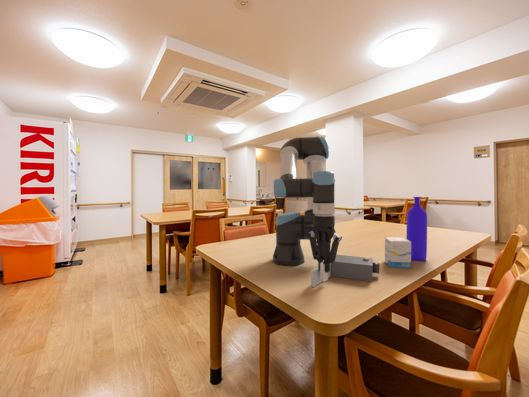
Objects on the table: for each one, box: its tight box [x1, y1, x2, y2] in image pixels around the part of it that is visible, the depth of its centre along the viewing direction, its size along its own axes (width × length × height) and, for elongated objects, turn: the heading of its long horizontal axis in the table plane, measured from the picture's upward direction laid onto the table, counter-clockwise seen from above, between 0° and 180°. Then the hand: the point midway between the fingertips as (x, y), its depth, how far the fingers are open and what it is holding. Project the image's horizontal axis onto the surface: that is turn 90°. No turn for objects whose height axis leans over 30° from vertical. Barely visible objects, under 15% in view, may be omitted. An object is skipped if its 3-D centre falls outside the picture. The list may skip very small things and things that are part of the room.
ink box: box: [384, 236, 412, 269], centre depth 106 cm, size 9×8×12 cm
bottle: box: [406, 196, 428, 262], centre depth 113 cm, size 8×8×30 cm
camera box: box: [331, 254, 380, 282], centre depth 95 cm, size 18×10×7 cm, turn 65°
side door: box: [310, 263, 332, 288], centre depth 89 cm, size 14×2×6 cm, turn 138°
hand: (324, 280), depth 85 cm, fingers closed
